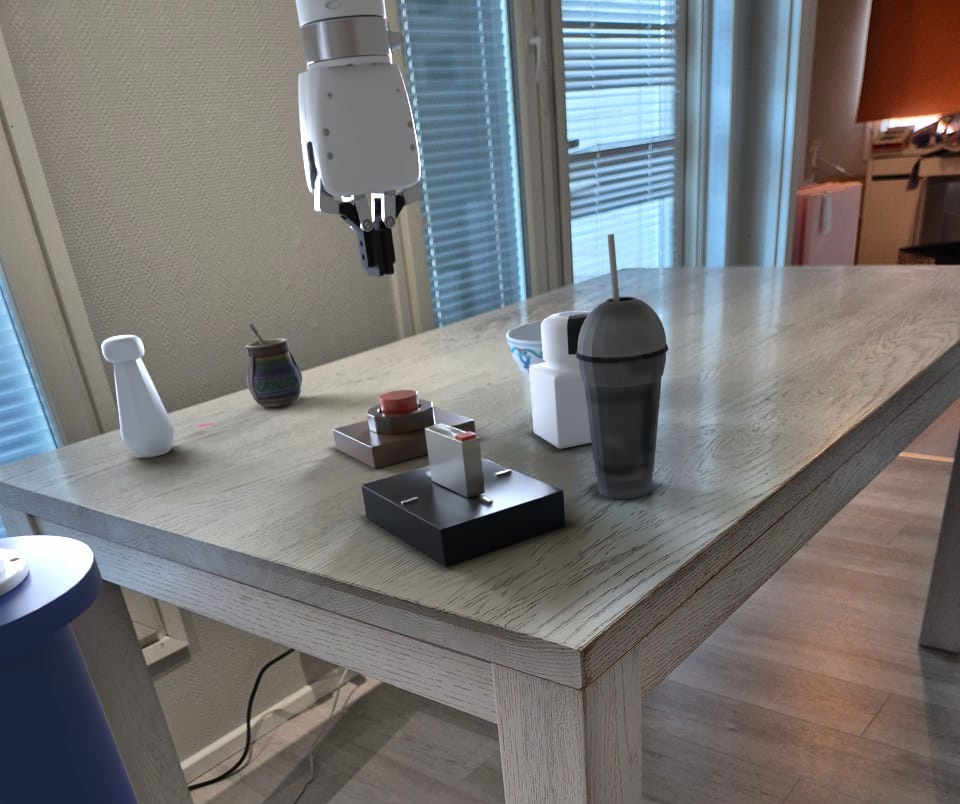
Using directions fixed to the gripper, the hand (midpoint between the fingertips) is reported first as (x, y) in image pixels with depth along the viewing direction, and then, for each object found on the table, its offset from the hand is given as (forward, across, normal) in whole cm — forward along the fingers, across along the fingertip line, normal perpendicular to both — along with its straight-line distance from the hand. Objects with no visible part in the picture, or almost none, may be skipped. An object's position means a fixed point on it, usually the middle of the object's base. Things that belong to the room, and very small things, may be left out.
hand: (380, 274), depth 84 cm
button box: (+17, 0, 0) cm, 17 cm away
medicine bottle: (+17, -14, +12) cm, 25 cm away
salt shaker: (+17, +22, -22) cm, 36 cm away
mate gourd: (+17, +3, -32) cm, 37 cm away
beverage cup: (+17, -7, +28) cm, 34 cm away
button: (+13, 0, 0) cm, 13 cm away
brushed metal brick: (+14, +7, +24) cm, 29 cm away
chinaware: (+17, -24, -2) cm, 30 cm away
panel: (+17, +7, +24) cm, 30 cm away
